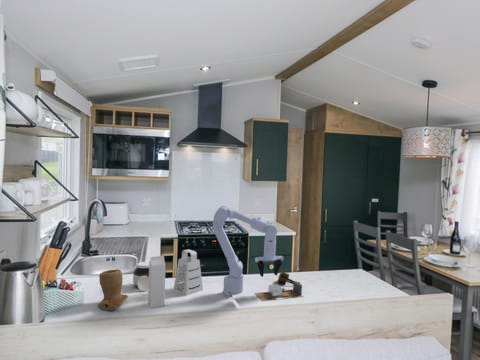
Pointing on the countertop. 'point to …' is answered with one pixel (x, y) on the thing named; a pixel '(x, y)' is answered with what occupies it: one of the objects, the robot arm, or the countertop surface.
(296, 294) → the rail board
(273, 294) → the brushed steel box
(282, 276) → the mechanical counter
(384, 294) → the countertop surface
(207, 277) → the countertop surface
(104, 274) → the brown boot
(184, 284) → the grater
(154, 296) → the milk
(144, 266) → the spread jar
